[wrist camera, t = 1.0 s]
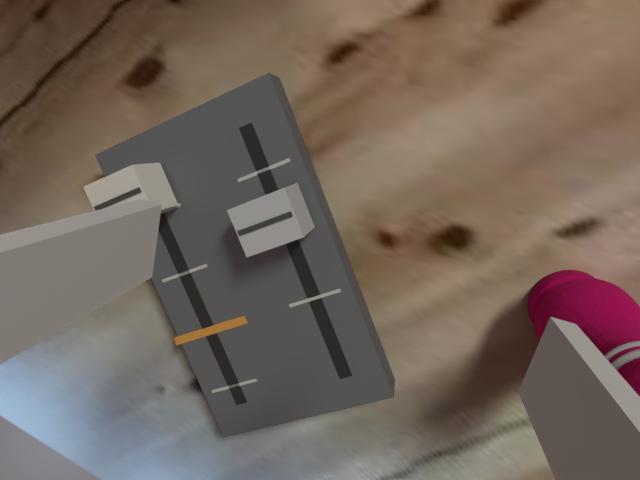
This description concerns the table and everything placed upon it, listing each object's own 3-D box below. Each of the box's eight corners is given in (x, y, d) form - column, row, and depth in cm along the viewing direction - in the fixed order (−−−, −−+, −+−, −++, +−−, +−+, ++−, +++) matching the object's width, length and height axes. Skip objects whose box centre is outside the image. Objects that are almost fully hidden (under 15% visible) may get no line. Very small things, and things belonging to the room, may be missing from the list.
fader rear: (115, 182, 39) (82, 187, 35) (159, 162, 38) (131, 164, 34) (133, 223, 40) (103, 232, 36) (178, 204, 38) (152, 212, 34)
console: (112, 155, 42) (90, 157, 39) (279, 78, 38) (268, 72, 35) (230, 419, 46) (219, 438, 44) (394, 379, 42) (393, 397, 39)
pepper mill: (524, 263, 37) (649, 393, 18) (618, 264, 36) (863, 407, 16) (518, 340, 39) (628, 537, 19) (608, 345, 37) (822, 561, 18)
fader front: (245, 203, 37) (226, 210, 33) (297, 182, 36) (283, 187, 32) (262, 245, 38) (245, 257, 34) (314, 227, 36) (303, 237, 32)
